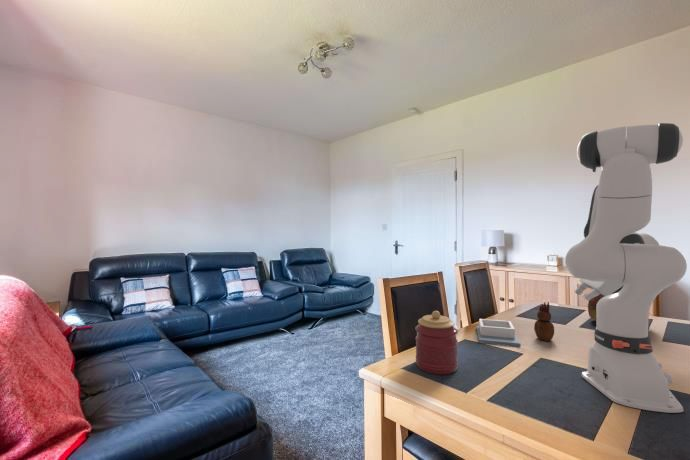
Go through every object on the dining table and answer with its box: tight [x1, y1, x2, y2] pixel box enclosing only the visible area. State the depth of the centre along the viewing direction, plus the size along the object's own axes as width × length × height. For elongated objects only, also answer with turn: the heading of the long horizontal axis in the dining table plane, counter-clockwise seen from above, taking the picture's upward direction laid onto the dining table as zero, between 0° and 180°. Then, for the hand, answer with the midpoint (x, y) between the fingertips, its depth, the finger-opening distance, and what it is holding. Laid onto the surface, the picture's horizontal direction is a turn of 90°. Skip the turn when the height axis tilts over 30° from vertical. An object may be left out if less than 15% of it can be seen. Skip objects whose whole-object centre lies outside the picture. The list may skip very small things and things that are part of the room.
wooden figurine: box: [533, 301, 555, 342], centre depth 125 cm, size 7×6×15 cm
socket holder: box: [476, 318, 521, 348], centre depth 129 cm, size 18×14×5 cm
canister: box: [415, 310, 459, 375], centre depth 103 cm, size 13×13×18 cm
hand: (580, 296), depth 121 cm, fingers open, 8 cm apart
